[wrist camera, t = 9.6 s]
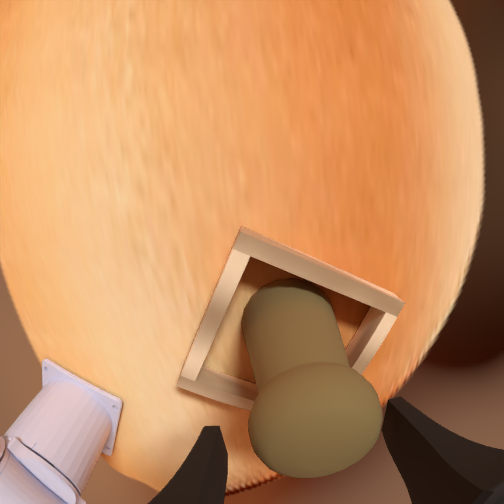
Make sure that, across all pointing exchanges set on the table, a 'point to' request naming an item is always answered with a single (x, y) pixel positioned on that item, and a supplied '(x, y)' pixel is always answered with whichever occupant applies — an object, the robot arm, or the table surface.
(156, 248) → the table surface
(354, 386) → the cork
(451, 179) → the table surface
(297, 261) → the open square wooden box
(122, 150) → the table surface
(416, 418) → the robot arm
